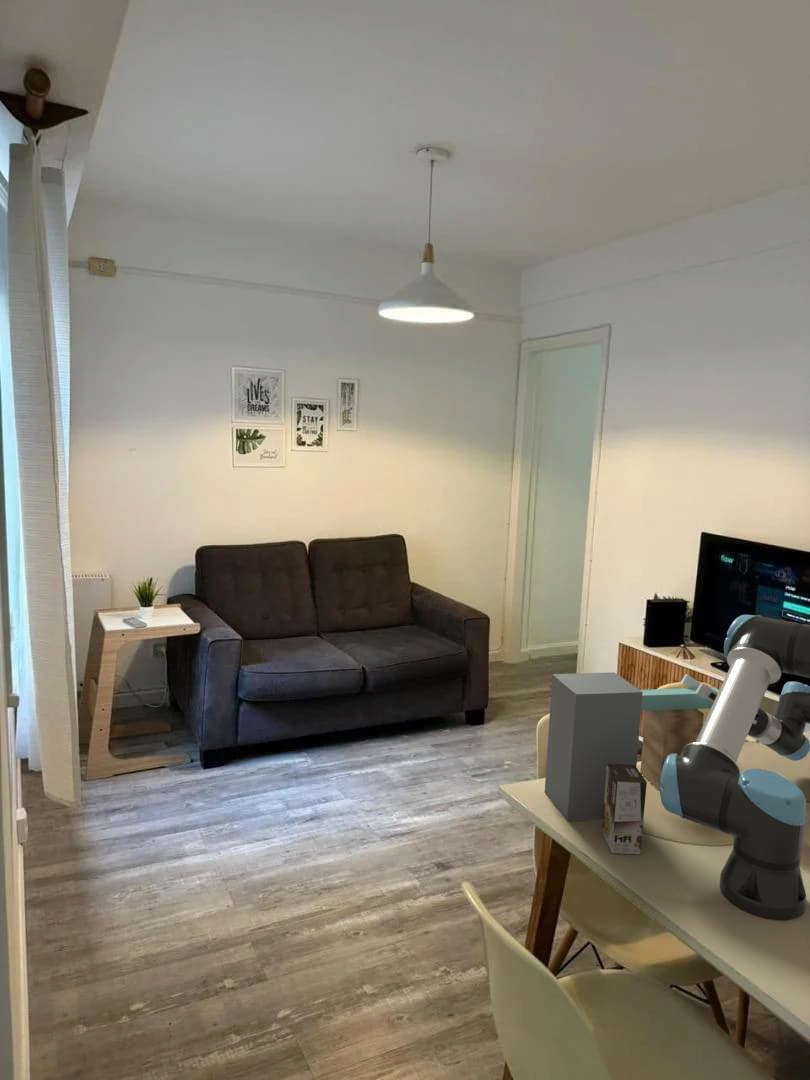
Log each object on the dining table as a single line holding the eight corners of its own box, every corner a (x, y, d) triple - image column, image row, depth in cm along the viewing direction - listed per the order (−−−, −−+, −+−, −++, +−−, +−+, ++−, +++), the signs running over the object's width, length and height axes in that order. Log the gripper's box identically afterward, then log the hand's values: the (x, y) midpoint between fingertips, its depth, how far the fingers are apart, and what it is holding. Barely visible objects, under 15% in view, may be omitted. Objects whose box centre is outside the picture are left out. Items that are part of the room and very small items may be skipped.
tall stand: (605, 788, 190) (614, 672, 186) (632, 816, 176) (642, 692, 172) (544, 792, 187) (552, 674, 182) (567, 821, 173) (576, 694, 169)
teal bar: (713, 702, 196) (714, 687, 196) (722, 708, 192) (723, 692, 192) (626, 705, 192) (628, 690, 191) (634, 711, 188) (635, 695, 187)
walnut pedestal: (675, 772, 201) (681, 699, 198) (696, 789, 191) (703, 713, 188) (640, 774, 199) (646, 700, 196) (659, 792, 189) (666, 714, 186)
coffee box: (641, 855, 160) (648, 782, 158) (611, 853, 160) (616, 781, 158) (630, 832, 169) (635, 763, 167) (600, 831, 169) (606, 762, 167)
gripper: (774, 751, 188) (705, 709, 183) (727, 722, 207) (663, 683, 201) (790, 725, 188) (721, 683, 182) (742, 698, 207) (678, 659, 201)
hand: (691, 683), depth 192 cm, fingers open, 6 cm apart
